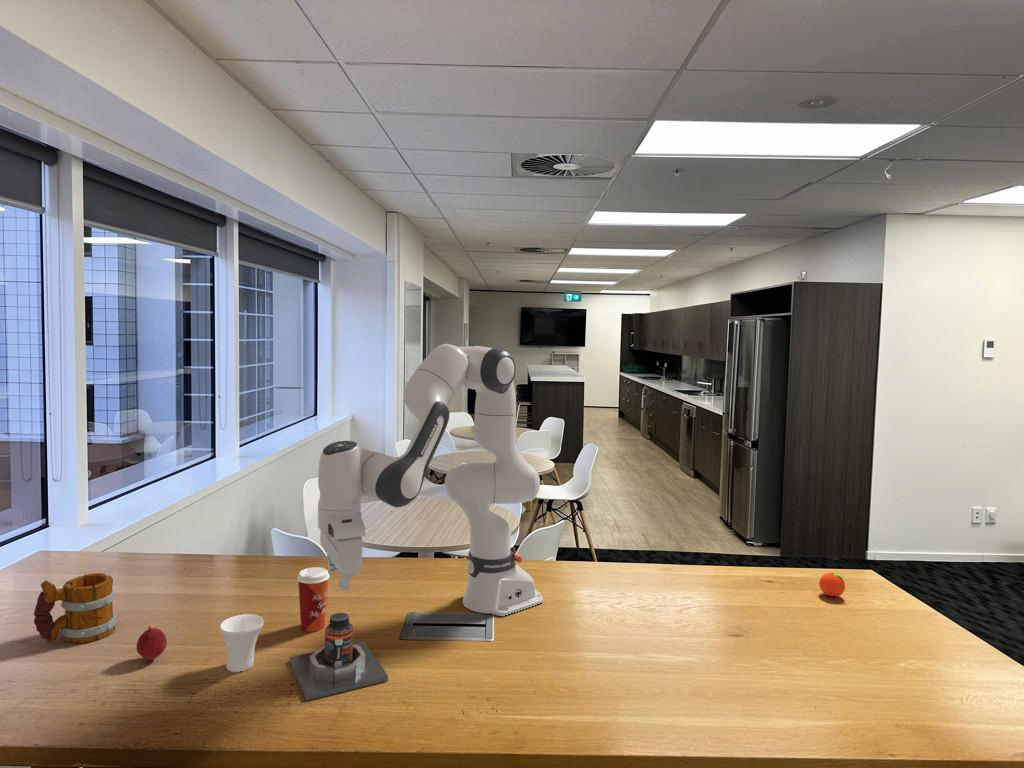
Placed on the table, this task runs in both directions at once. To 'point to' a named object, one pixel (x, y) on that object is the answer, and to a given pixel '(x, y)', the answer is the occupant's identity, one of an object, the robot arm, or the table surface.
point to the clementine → (832, 584)
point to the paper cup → (313, 598)
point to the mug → (77, 609)
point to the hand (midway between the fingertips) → (338, 580)
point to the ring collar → (336, 672)
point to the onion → (151, 643)
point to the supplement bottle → (338, 641)
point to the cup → (240, 640)
